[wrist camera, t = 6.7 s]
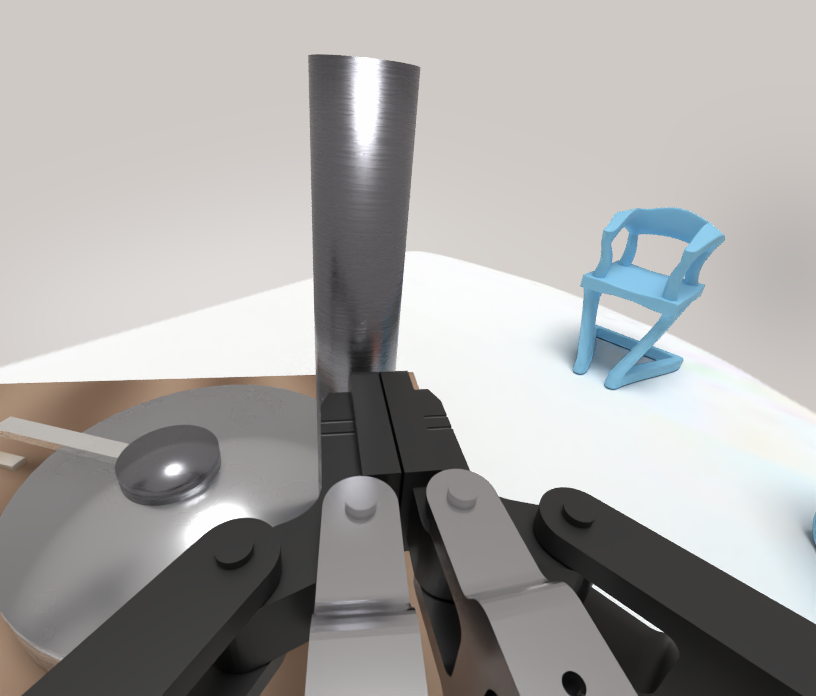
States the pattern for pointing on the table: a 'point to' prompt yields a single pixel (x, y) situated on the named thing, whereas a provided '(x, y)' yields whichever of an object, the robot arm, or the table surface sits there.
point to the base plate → (85, 407)
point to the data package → (814, 528)
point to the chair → (645, 289)
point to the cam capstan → (222, 395)
